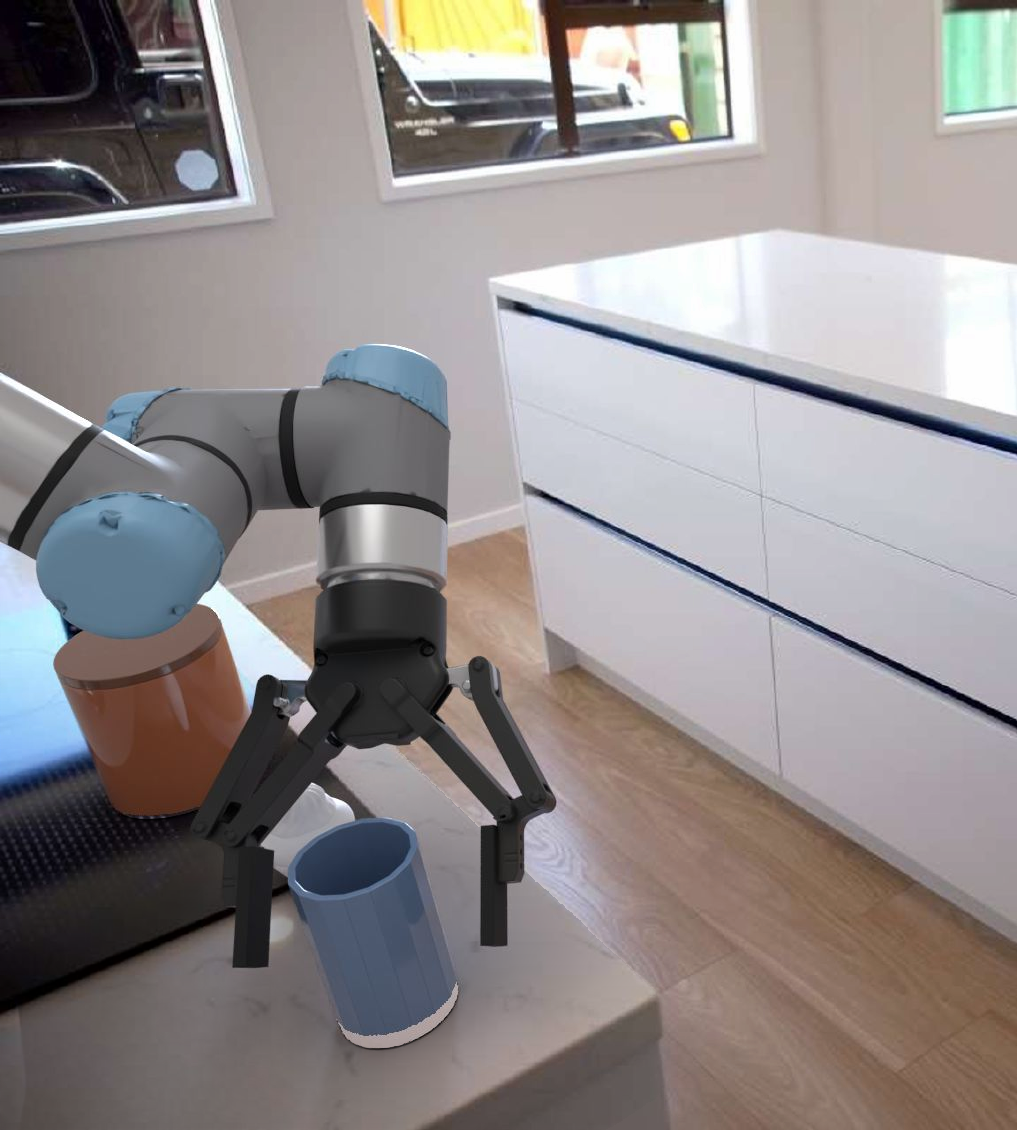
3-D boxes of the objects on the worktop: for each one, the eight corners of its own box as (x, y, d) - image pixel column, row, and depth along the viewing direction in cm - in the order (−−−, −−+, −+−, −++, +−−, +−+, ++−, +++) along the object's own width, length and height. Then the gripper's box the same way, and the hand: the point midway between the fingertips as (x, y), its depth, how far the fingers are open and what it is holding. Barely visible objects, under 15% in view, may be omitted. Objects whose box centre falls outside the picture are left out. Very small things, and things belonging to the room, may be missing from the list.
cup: (341, 1066, 71) (288, 915, 66) (336, 984, 77) (286, 839, 72) (465, 1024, 74) (422, 875, 69) (451, 947, 79) (411, 804, 74)
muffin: (263, 866, 88) (233, 783, 84) (353, 830, 90) (328, 748, 87) (282, 916, 83) (252, 830, 80) (377, 876, 86) (351, 792, 83)
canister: (102, 837, 92) (41, 696, 86) (117, 756, 101) (63, 624, 96) (265, 793, 95) (217, 654, 90) (265, 719, 104) (222, 589, 99)
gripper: (599, 592, 82) (609, 938, 75) (208, 626, 82) (183, 976, 75) (573, 555, 75) (580, 934, 68) (143, 593, 74) (110, 976, 68)
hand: (372, 957), depth 72 cm, fingers open, 13 cm apart
